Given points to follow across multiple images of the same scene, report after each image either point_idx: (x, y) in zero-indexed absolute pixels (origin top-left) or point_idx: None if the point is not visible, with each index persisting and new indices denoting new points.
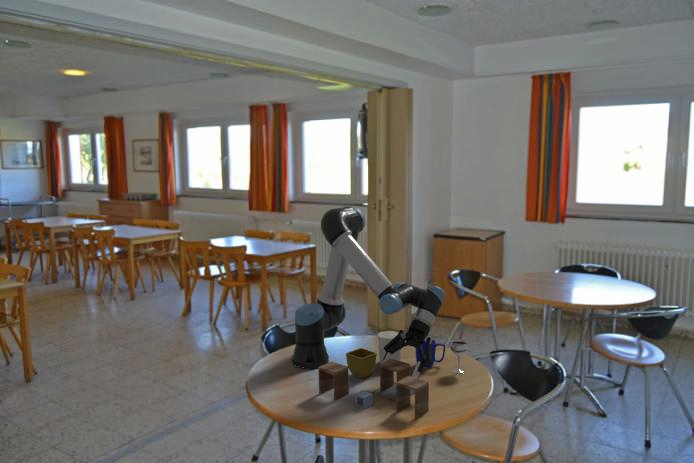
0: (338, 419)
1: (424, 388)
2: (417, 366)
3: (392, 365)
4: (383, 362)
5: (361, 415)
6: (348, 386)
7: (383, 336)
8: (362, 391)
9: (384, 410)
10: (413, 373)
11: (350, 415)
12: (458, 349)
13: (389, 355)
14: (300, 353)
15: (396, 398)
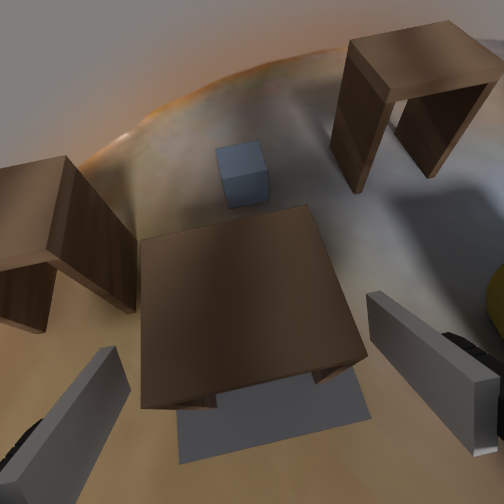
0: (224, 114)
1: None
2: (44, 423)
3: (231, 256)
4: (404, 311)
5: (199, 156)
6: (360, 172)
7: None
8: (263, 165)
9: (170, 215)
10: (93, 367)
11: (220, 138)
12: None
13: (452, 380)
14: None
15: (111, 211)
